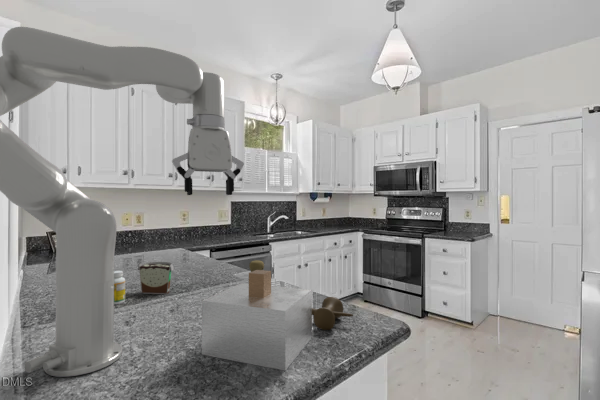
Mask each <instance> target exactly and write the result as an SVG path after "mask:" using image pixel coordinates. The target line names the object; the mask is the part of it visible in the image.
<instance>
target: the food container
mask: <svg viewBox="0 0 600 400" xmlns="http://www.w3.org/2000/svg"><path fill="white" fill-rule="evenodd" d="M137 267H138V268H137V271H139V279H140V290H141V291H140V293H141V294H145V295H146V294H148V295H150V294H152V295H153V294H154V295H168V294H169V293H170V288H171V281H172V280H171V279H172V271H174V265H173V263H172V262H169V261H153V262H143V263H139V264H138V266H137Z"/></svg>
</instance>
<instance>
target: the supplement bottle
mask: <svg viewBox="0 0 600 400" xmlns="http://www.w3.org/2000/svg"><path fill="white" fill-rule="evenodd" d="M123 276H124V272H123V270H114V306H115V305H120V304H123V303H125V301H126V278H125V277H123Z"/></svg>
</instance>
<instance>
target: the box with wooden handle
mask: <svg viewBox="0 0 600 400" xmlns="http://www.w3.org/2000/svg"><path fill="white" fill-rule="evenodd" d="M312 292H313V291H312V289H307V288H306V289H305V288H296V287H295V288H294V287H284V286H274V285H272V270H264V269H263V270H255V271H252V272H251V271H250V272H248V283H242V282H241V283H238V284H236V285H234V286H231V287H230V288H227V289H225V290H222V291H221V292H218V293H216V294H214V295H212V296H209V297H207V298H205V299H203V300H201V355H203V356H208V357H213V358H219V359H223V360H224V359H225V360H228V361H235V362H239V363H244V364H250V365H254V366H259V367H265V368H269V369H275V370H279V371H280V370H281V371H285V372H286V371H287V369H288V368H289V367H290V366H291V365H292V363H293V362H294V361H295V360H296V358H297V357H298V356H299V355H300V353H301V352H302V351H303V350H304V348H305V347H306V346H307V345H308V343H309V342H310V341H311V340H312V339H313V338H312V337H313V322H312V321H313V315H312V308H313V307H312V306H313V303H312V302H313V301H312V300H313V296H312V295H313V293H312Z"/></svg>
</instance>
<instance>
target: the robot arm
mask: <svg viewBox="0 0 600 400" xmlns="http://www.w3.org/2000/svg"><path fill="white" fill-rule="evenodd" d="M1 41H2V42H1V53H2V55H0V117H1V116H4V115H5V114H7V113H9V112H11V111H12V110H14V109H16V108H17V107H20V106H21V105H23V104H24V103H26V102H28V101H30V100H32V99H34V98H36V97H37V96H38V95H40V94H42V93H43V92H45V91H46V90H48V89H49V88H51V87H52V86H53V85H54V84H56V83H57V82H60V83H65V84H71V85H76V86H81V87H87V88H93V89H99V90H104V91H106V90H107V91H109V90H118V89H121V88H124V87H129V86H135V85H155V90H156V93H157V94H158V97H160V98H161V99H162V100H164V101H166V102H168V103H172V104H186V105H187V104H188V105H189V104H190V105H192V117H191V118H186V124H187V125H188V126H189V125H190V126H191V127H192V128H190V131H189V136H188V146H187V152H185V153H184V154H181V155H180V156H177V157H175V158H172V160H171V163H172V165H173V167H174V168H175V170H176V172H177V173H178V174H179V175H180V176H181V177H182V178H183V179H184V180H183V181H184V192H186V195H187V196H192V195H193V178H192V175H193V173H194V172H204V173H205V172H210V173H211V172H212V173H214V172H215V173H223V174H224V175H225V176H226V177H227V179H225V194H226V196H231V195H233V193H234V190H235V178H236V177H237V176H238V175H239V174H240V173H241V172H242V171H241V170H242V169H243V167H244V165H245V163H244V161H242V160H240V159H238V158H236V157H235V156H233V155H232V148H231V139H230V135H229V131H227V130H226V129H225V123H226V122H225V82H224V79H223V78H222V77H221V76H220V75H219V74H216V73H213V72H206V71H205V72H203V71H202V69H201V67H200V66H199V64H197V62H195V60H193V59H191V58H190V57H188V56H185V55H183V54H179V53H175V52H172V51H170V50H164V49H161V48H156V47H151V46H150V47H149V46H122V45H121V46H120V45H119V46H118V45H117V46H107V45H104V44H98V43H94V42H90V41H87V40H82V39H78V38H75V37H71V36H66V35H62V34H58V33H55V32H51V31H47V30H42V29H38V28H34V27H29V26H28V27H27V26H15V27H12V28H10V29H9V30H7V31H6V32H5V33H4V35H3V38H2V40H1ZM185 160H187V161H186V162H187V163H186V164H187V168H188V169H187V170H185V169H184V168H183V167H182V165H181V162H184V161H185ZM233 164H234V165H235V169H234V170H233V171H232V168H233ZM0 192H1V193H2V194H3V196H5V197H6V198H7V199H8V200H9V201H10V202H11V203H13V204H14V205H16V206H18V207H19V208H21V209H23V210H24V211H25V212H26V213H28V214H29V215H31V216H33V218H35V219H36V220H38V221H39V222H41V223H42V224H43V225H44V226H46V227H47V228H48V229H50V230H52V232H54V233H55V234H56V235H55V240H56V243H55V244H56V245H55V246H56V247H55V248H56V249H55V251H56V254H55V255H56V256H55V336H54V337H55V339H54V341H55V343H53V344H50V345H49V347H48V351H46V352H45V353H44V354H43V355H41V356H38V357H35V358H33V359H31V360H27V361H26V362H25V363H24V370H25V372H26V373H28V374H29V373H32V372H34V371H37V370H39V369H41V368H42V369H43V371H44V372H45V373H46V375H49V376H53V377H57V378H59V377H60V378H68V377H77V376H82V375H85V374H89V373H93V372H96V371H99V370H102V369H104V368H106V367H108V366H110V365H113V363H115V362H117V360H119V359H120V357H121V356H122V354H123V347H122V345H121V344H119V343H118V342H114V337H115V336H114V331H115V327H114V324H115V323H114V321H115V319H114V317H115V314H114V313H115V312H114V310H115V309H114V308H115V305H114V271H115V250H116V249H115V248H116V241H117V221H116V217H115V214H114V213H113V212H112V210H111V209H110V208H109V207H108V206H107V205H106V204H104V203H102V202H100V201H98V200H95V199H91V198H90V197H89V196H88V195H86V193H84V192H83V191H82V190H80V189H79V188H78V187H77V186H75V185H74V184H73V183H72V182H70V180H69V179H67V177H66V175H65V174H64V172H63V171H62V170H61V169H60V168H59V167H58V166H56V165H55V164H54V163H52V162H50V161H49V160H47V159H46V158H45V157H43V156H42V155H41V154H40V153H38V152H37V151H36V150H35V149H34V148H32V146H31V147H30V145H29V144H27V143H26V142H25V141H24V140H23V139H21V137H19V136H18V135H17V134H16V133H15V132H14V131H13V130H12V129H10V128H9V126H7V125H6V124H5V123H4V122H3V121H2V120H1V119H0Z"/></svg>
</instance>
